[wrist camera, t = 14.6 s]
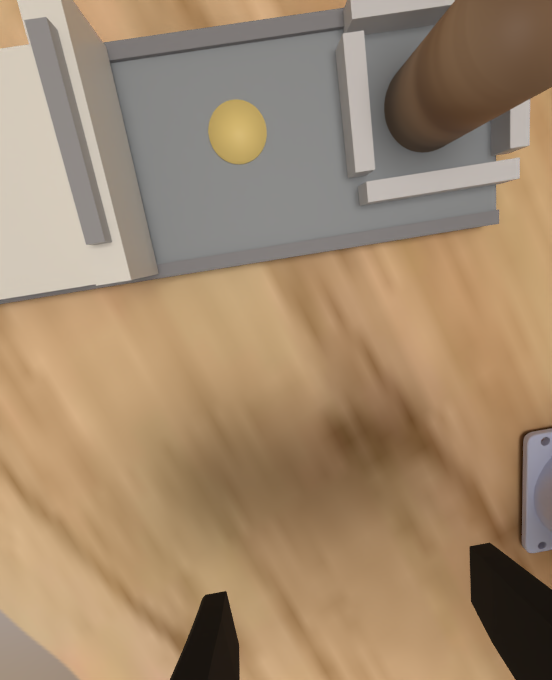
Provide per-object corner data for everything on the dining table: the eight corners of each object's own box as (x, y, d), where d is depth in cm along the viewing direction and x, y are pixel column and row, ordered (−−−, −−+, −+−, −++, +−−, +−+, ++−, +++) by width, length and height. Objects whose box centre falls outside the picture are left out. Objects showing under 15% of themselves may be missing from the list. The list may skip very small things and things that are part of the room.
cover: (106, 46, 14) (42, -43, 10) (158, 273, 16) (125, 281, 12) (-96, 76, 14) (-251, -2, 9) (-16, 301, 16) (-114, 319, 11)
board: (493, 3, 15) (532, -37, 13) (494, 223, 18) (528, 219, 15) (-143, 96, 15) (-210, 70, 13) (-59, 312, 17) (-104, 321, 15)
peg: (468, 51, 15) (607, -77, 9) (467, 147, 16) (594, 86, 10) (382, 60, 15) (467, -64, 9) (385, 157, 16) (466, 100, 10)
